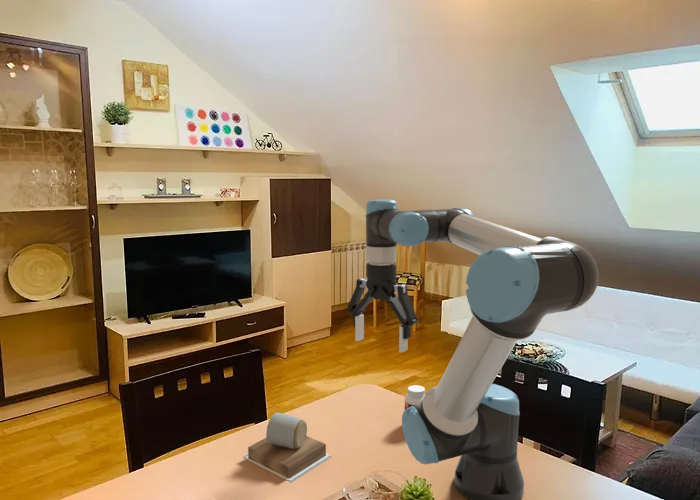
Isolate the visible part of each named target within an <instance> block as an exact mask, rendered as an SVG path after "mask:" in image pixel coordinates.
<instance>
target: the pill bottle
mask: <svg viewBox="0 0 700 500" xmlns="http://www.w3.org/2000/svg"><path fill="white" fill-rule="evenodd" d="M425 394H426V389H425V387H424V386H422V385H417V384H414V385H410V386H408V387H407V394H406V395H405V397H404V410H405V409H407V408H409V407H411V406H414V407H415V406H418V405H420V403H421V401H422V399H423V397H424V395H425Z"/></svg>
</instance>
